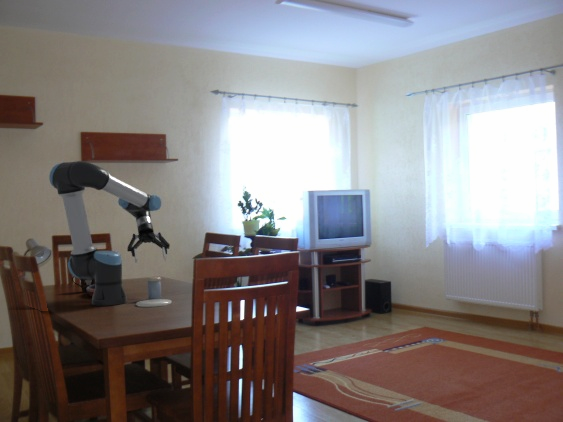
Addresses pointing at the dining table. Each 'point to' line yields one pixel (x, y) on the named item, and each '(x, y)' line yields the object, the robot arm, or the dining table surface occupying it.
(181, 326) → the dining table surface
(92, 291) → the dish
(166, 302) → the plate
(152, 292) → the jar
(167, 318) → the dining table surface
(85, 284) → the coffee mug
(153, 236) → the robot arm
